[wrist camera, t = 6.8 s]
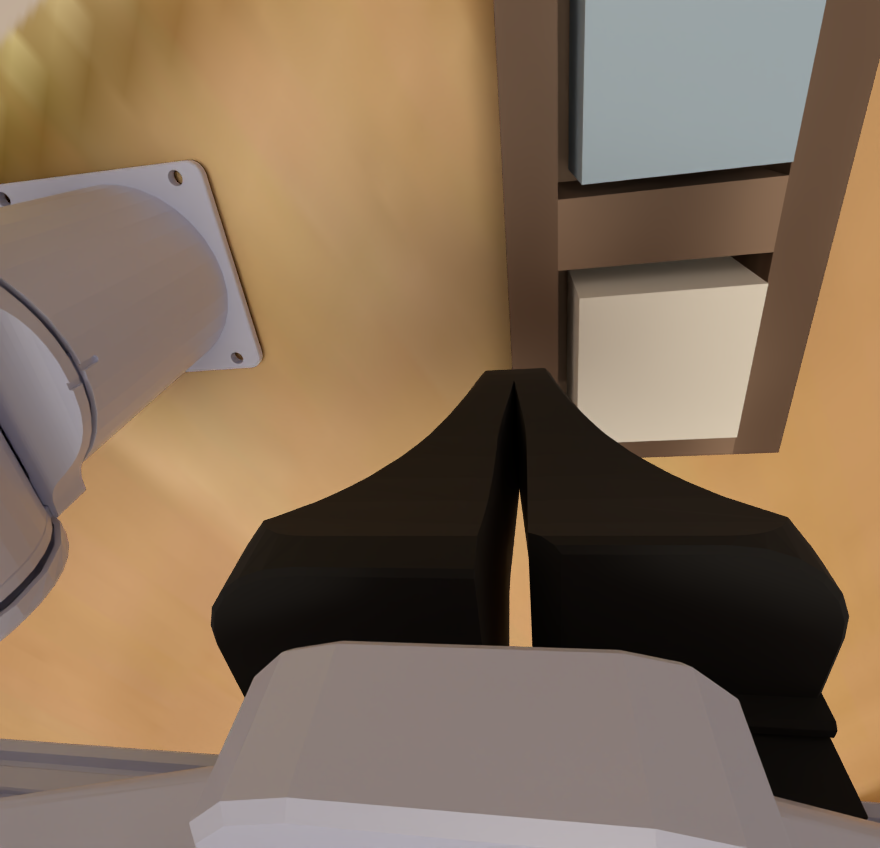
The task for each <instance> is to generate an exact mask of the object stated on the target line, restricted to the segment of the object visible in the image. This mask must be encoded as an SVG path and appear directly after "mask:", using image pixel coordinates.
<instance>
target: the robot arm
mask: <svg viewBox="0 0 880 848" xmlns="http://www.w3.org/2000/svg"><path fill="white" fill-rule="evenodd" d="M175 170H176V171H178V172H179V173H180V174H181V176H182V179H183V182H182V184H179V183H178V182H177V181H176V180H175V178H174V172H175ZM4 194H6V195H7V196H8V197H9V198H10V202H11V204H10V203H9V202H8V201H7V200H6V199H5V195H4ZM235 352H236V353H239V354H241V355H242V357H243V360H240V359H238V358H237V357H236V355H235ZM262 358H263V354H262V350H261V347H260V344H259V341H258V338H257V334H256V331H255V328H254V325H253V322H252V319H251V315H250V312H249V309H248V306H247V303H246V299H245V296H244V293H243V290H242V287H241V283H240V280H239V277H238V274H237V271H236V268H235V264H234V261H233V258H232V255H231V252H230V248H229V245H228V242H227V239H226V236H225V232H224V229H223V226H222V223H221V220H220V216H219V213H218V210H217V207H216V204H215V201H214V197H213V194H212V191H211V188H210V185H209V181H208V178H207V175H206V172H205V170H204V168H203V167H202V166H201V165H200V164H199V163H197V162H196V161H194V160H183V161H175V162H168V163H160V164H152V165H144V166H137V167H129V168H121V169H113V170H106V171H98V172H90V173H82V174H75V175H67V176H59V177H52V178H44V179H36V180H28V181H21V182H13V183H5V184H0V641H2V640H3V639H4V638H5V637H6V636H8V635H9V634H10V633H11V632H12V631H13V630H14V629H15V628H17V627H18V626H19V625H20V624H21V623H22V622H23V621H24V620H25V619H26V618H27V617H28V616H29V615H30V614H31V613H32V612H33V611H34V610H35V609H36V608H37V607H38V606H39V605H40V604H41V602H42V601H43V600H44V598H45V597H46V596H47V595H48V593H49V592H50V591H51V589H52V588H53V587H54V586H55V584H56V582H57V581H58V579H59V577H60V575H61V574H62V572H63V570H64V567H65V564H66V561H67V558H68V551H69V542H68V538H67V534H66V531H65V529H64V528H63V526H62V524H61V522H60V521H59V520H58V519H57V517H58V516H59V515H60V514H61V513H63V512H64V511H65V510H66V509H67V508H68V507H69V506H70V505H71V504H72V503H73V502H74V501H75V500H76V499H77V498H78V497H79V496H80V495H81V494H82V493H83V492H84V491H85V490H86V488H85V485H84V482H83V480H82V475H81V465H82V463H83V462H84V461H85V460H86V459H87V458H88V457H89V456H90V455H92V454H93V453H94V452H95V451H96V450H97V449H98V448H99V447H101V446H102V445H103V444H104V443H105V442H106V441H107V440H109V439H110V438H111V437H112V436H113V435H114V434H115V433H116V432H118V431H119V430H120V429H121V428H122V427H123V426H124V425H125V424H127V423H128V422H129V421H130V420H131V419H132V418H133V417H134V416H136V415H137V414H138V413H139V412H140V411H141V410H142V409H143V408H145V407H146V406H147V405H148V404H149V403H150V402H151V401H152V400H154V399H155V398H156V397H157V396H158V395H159V394H160V393H162V392H163V391H164V390H165V389H166V388H167V387H168V386H169V385H171V384H172V383H173V382H174V381H175V380H176V379H177V378H178V377H180V376H181V375H182V374H183V373H184V372H194V371H209V370H224V369H238V368H252V367H256V366H257V365H258V364H259V363H260V362H261V361H262ZM519 489H520V496H521V504H522V511H523V519H524V526H525V534H526V541H527V549H528V556H529V575H530V598H531V622H532V646H533V647H515V646H509V590H510V574H511V564H512V555H513V546H514V536H515V527H516V518H517V508H518V499H519ZM848 619H849V614H848V611H847V607H846V603H845V600H844V596H843V593H842V592H841V590H840V589H839V587H838V586H837V584H836V583H835V581H834V580H833V578H832V576H831V575H830V573H829V572H828V570H827V569H826V567H825V565H824V564H823V562H822V561H821V560H820V558H819V557H818V555H817V554H816V552H815V551H814V550H813V548H812V547H811V545H810V544H809V543H808V542H807V541H806V539H805V538H804V537H803V536H802V534H801V533H800V532H799V531H798V529H797V528H796V527H795V526H794V524H793V523H792V522H791V520H790V519H789V518H788V517H785V516H782V515H779V514H776V513H773V512H770V511H767V510H763V509H760V508H757V507H754V506H751V505H748V504H745V503H742V502H738V501H735V500H732V499H729V498H726V497H723V496H721V495H718V494H716V493H713V492H711V491H708V490H706V489H704V488H701V487H699V486H696V485H694V484H691V483H689V482H687V481H685V480H683V479H680V478H678V477H676V476H674V475H672V474H670V473H668V472H666V471H664V470H662V469H660V468H659V467H657V466H655V465H653V464H651V463H649V462H647V461H646V460H644V459H642V458H640V457H639V456H637V455H636V454H634V453H632V452H631V451H629V450H628V449H626V448H625V447H623V446H622V445H620V444H619V443H618V442H616V441H615V440H613V439H612V438H610V437H609V436H608V435H606V434H605V433H604V432H603V431H601V430H600V429H599V428H598V427H597V426H596V425H595V424H594V423H593V422H591V421H590V420H589V419H588V418H587V417H586V416H585V415H584V414H583V413H582V412H581V411H580V410H579V409H578V407H577V406H576V405H575V404H574V403H573V402H572V401H571V400H570V399H569V398H568V396H567V395H566V394H565V393H564V392H563V390H562V389H561V388H560V387H559V385H558V384H557V383H556V381H555V380H554V378H553V377H552V375H551V373H550V372H549V371H548V370H547V369H546V368H532V369H513V370H493V371H485V372H484V373H483V374H482V375H481V377H480V378H479V379H478V381H477V382H476V383H475V385H474V386H473V387H472V389H471V390H470V391H469V392H468V394H467V395H466V396H465V397H464V399H463V400H462V401H461V402H460V403H459V405H458V406H457V407H456V408H455V409H454V410H453V411H452V413H451V414H450V415H449V416H448V417H447V418H446V419H445V420H444V421H443V422H442V423H441V424H440V425H439V426H438V427H437V428H436V429H435V430H434V431H433V432H432V433H431V434H430V435H429V436H427V437H426V438H425V439H424V440H423V441H421V442H420V443H419V444H418V445H416V446H415V447H414V448H412V449H411V450H410V451H408V452H407V453H406V454H404V455H403V456H402V457H400V458H399V459H397V460H395V461H394V462H392V463H390V464H389V465H387V466H386V467H384V468H382V469H381V470H379V471H378V472H376V473H374V474H373V475H371V476H369V477H368V478H366V479H364V480H362V481H360V482H358V483H356V484H354V485H352V486H350V487H348V488H346V489H344V490H342V491H340V492H338V493H335V494H333V495H331V496H329V497H327V498H324V499H322V500H320V501H317V502H315V503H312V504H309V505H307V506H304V507H301V508H298V509H296V510H293V511H290V512H288V513H285V514H282V515H279V516H277V517H274V518H271V519H267V520H264V521H263V523H262V524H261V526H260V527H259V528H258V530H257V531H256V533H255V534H254V536H253V538H252V539H251V541H250V542H249V544H248V545H247V547H246V549H245V550H244V552H243V554H242V556H241V557H240V559H239V561H238V562H237V564H236V566H235V568H234V569H233V571H232V573H231V575H230V576H229V578H228V580H227V582H226V583H225V585H224V587H223V589H222V590H221V592H220V594H219V596H218V598H217V599H216V601H215V603H214V605H213V606H212V616H211V627H212V630H213V633H214V636H215V639H216V642H217V645H218V647H219V649H220V651H221V653H222V655H223V657H224V658H225V660H226V662H227V664H228V666H229V668H230V670H231V672H232V674H233V676H234V678H235V680H236V682H237V684H238V685H239V687H240V689H241V691H242V693H243V695H244V697H245V698H244V701H243V703H242V705H241V707H240V710H239V712H238V714H237V716H236V719H235V721H234V723H233V725H232V727H231V730H230V732H229V734H228V736H227V739H226V741H225V743H224V745H223V748H222V750H221V752H220V754H219V755H217V754H204V753H190V752H176V751H162V750H149V749H135V748H121V747H107V746H94V745H80V744H66V743H53V742H39V741H25V740H11V739H0V848H880V803H876V802H862V801H860V799H859V797H858V794H857V792H856V790H855V788H854V786H853V784H852V782H851V780H850V778H849V776H848V774H847V772H846V770H845V768H844V766H843V763H842V761H841V759H840V757H839V755H838V753H837V751H836V749H835V747H834V745H833V743H832V741H831V739H830V738H834V737H835V735H836V733H837V725H836V721H835V719H834V717H833V715H832V713H831V711H830V709H829V707H828V705H827V703H826V701H825V699H824V697H823V695H822V693H821V692H822V690H823V688H824V685H825V683H826V681H827V678H828V676H829V674H830V671H831V669H832V667H833V664H834V662H835V660H836V657H837V655H838V653H839V650H840V648H841V646H842V643H843V641H844V638H845V634H846V629H847V624H848Z"/></svg>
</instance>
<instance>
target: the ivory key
mask: <svg viewBox="0 0 880 848" xmlns="http://www.w3.org/2000/svg"><path fill="white" fill-rule="evenodd" d="M767 288H768V283H767V282H766V281H764V280H763V279H762V278H760V277H759V276H757V275H756V274H755V273H753V272H752V271H750V270H749V269H748V268H746V267H745V266H743V265H742V264H741V263H739V262H738V261H736V260H735V259H734V258H732V257H731V256H723V257H712V258H700V259H689V260H677V261H666V262H655V263H643V264H632V265H620V266H609V267H597V268H586V269H575V270H568V295H567V396H568V398H569V399H570V400H571V401H572V402H573V403H574V404H575V405H576V406H577V407H578V409H579V410H580V411H581V412H582V413H583V414H584V415H585V416H586V417H587V418H588V419H589V420H590V421H591V422H593V423H594V424H595V425H596V426H597V427H598V428H599V429H600V430H601V431H603V432H604V433H605V434H606V435H608V436H609V437H610V438H612V439H613V440H615V441H616V442H638V441H662V440H686V439H709V438H733V437H737V435H738V430H739V425H740V420H741V415H742V410H743V405H744V401H745V396H746V391H747V386H748V381H749V376H750V371H751V366H752V361H753V357H754V352H755V347H756V342H757V337H758V332H759V327H760V322H761V317H762V313H763V308H764V303H765V298H766V293H767Z"/></svg>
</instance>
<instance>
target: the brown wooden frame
mask: <svg viewBox="0 0 880 848" xmlns="http://www.w3.org/2000/svg"><path fill="white" fill-rule="evenodd" d="M494 18H495V38H496V57H497V77H498V97H499V116H500V136H501V155H502V175H503V195H504V214H505V234H506V253H507V273H508V293H509V312H510V332H511V351H512V370H513V369H532V368H546V369H547V370H548V371H549V372H550V373H551V375H552V377H553V378H554V380H555V381H556V383H557V384H558V385H559V387H560V388H561V389H562V390H563V392H564V393H565V394H566V395H567V295H568V270H575V269H586V268H597V267H609V266H620V265H632V264H643V263H655V262H666V261H677V260H689V259H700V258H712V257H723V256H731V257H732V258H734V259H735V260H736V261H738V262H739V263H741V264H742V265H743V266H745V267H746V268H748V269H749V270H750V271H752V272H753V273H755V274H756V275H757V276H759V277H760V278H762V279H763V280H764V281H766V282H767V283H768V288H767V293H766V298H765V303H764V308H763V313H762V317H761V322H760V327H759V332H758V337H757V342H756V347H755V352H754V357H753V361H752V366H751V371H750V376H749V381H748V386H747V391H746V396H745V401H744V405H743V410H742V415H741V420H740V425H739V430H738V435H737V437H733V438H709V439H686V440H662V441H638V442H618V443H619V444H620V445H622V446H623V447H625V448H626V449H628V450H629V451H631V452H632V453H634V454H636V455H637V456H639V457H640V458H644V457H670V456H697V455H723V454H750V453H776V452H779V448H780V444H781V441H782V437H783V433H784V429H785V425H786V421H787V417H788V413H789V409H790V406H791V402H792V398H793V394H794V390H795V386H796V382H797V378H798V374H799V371H800V367H801V363H802V359H803V355H804V351H805V347H806V343H807V339H808V336H809V332H810V328H811V324H812V320H813V316H814V312H815V308H816V304H817V301H818V297H819V293H820V289H821V285H822V281H823V277H824V273H825V269H826V266H827V262H828V258H829V254H830V250H831V246H832V242H833V238H834V234H835V231H836V227H837V223H838V219H839V215H840V211H841V207H842V203H843V199H844V195H845V192H846V188H847V184H848V180H849V176H850V172H851V168H852V164H853V160H854V157H855V153H856V149H857V145H858V141H859V137H860V133H861V129H862V125H863V122H864V118H865V114H866V110H867V106H868V102H869V98H870V94H871V90H872V87H873V83H874V79H875V75H876V71H877V67H878V63H879V59H880V0H826V5H825V10H824V14H823V19H822V24H821V29H820V34H819V39H818V44H817V49H816V54H815V58H814V63H813V68H812V73H811V78H810V83H809V88H808V93H807V98H806V102H805V107H804V112H803V117H802V122H801V127H800V132H799V137H798V141H797V146H796V151H795V156H794V161H793V162H786V163H777V164H768V165H759V166H749V167H740V168H731V169H722V170H713V171H704V172H695V173H685V174H676V175H667V176H658V177H649V178H640V179H631V180H622V181H612V182H603V183H594V184H585V185H582V184H581V183H580V182H579V181H578V180H577V179H576V178H575V176H574V175H573V174H572V173H571V172H570V171H569V170H568V160H569V26H570V0H494Z"/></svg>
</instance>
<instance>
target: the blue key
mask: <svg viewBox="0 0 880 848" xmlns="http://www.w3.org/2000/svg"><path fill="white" fill-rule="evenodd" d="M825 5H826V0H570V26H569V160H568V170H569V171H570V172H571V173H572V174H573V175H574V176H575V178H576V179H577V180H578V181H579V182H580V183H581V184H582V185H585V184H594V183H603V182H612V181H622V180H631V179H640V178H649V177H658V176H667V175H676V174H685V173H695V172H704V171H713V170H722V169H731V168H740V167H749V166H759V165H768V164H777V163H786V162H793V161H794V156H795V151H796V146H797V141H798V137H799V132H800V127H801V122H802V117H803V112H804V107H805V102H806V98H807V93H808V88H809V83H810V78H811V73H812V68H813V63H814V58H815V54H816V49H817V44H818V39H819V34H820V29H821V24H822V19H823V14H824V10H825Z"/></svg>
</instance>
